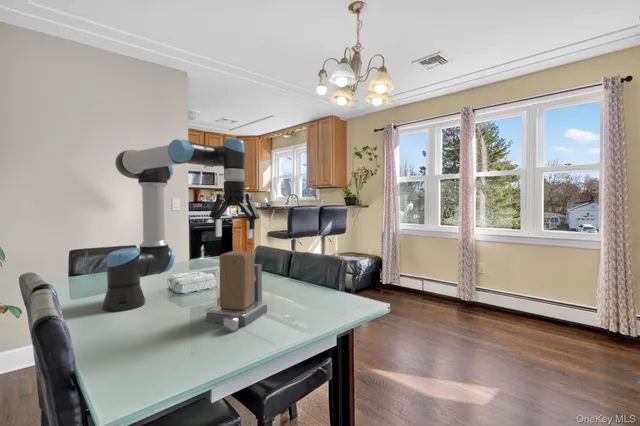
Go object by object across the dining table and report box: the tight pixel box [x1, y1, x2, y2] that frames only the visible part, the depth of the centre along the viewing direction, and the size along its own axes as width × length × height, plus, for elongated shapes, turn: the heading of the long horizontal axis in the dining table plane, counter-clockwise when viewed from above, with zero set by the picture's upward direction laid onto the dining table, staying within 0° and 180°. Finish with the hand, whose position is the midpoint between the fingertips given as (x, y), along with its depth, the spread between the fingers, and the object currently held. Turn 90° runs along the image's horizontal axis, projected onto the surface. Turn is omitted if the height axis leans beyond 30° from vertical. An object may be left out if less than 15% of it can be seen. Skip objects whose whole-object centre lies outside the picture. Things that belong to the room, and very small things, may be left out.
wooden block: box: [219, 250, 255, 310], centre depth 123 cm, size 10×10×20 cm
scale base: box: [206, 263, 268, 328], centre depth 125 cm, size 16×19×18 cm
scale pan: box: [208, 301, 266, 317], centre depth 124 cm, size 15×15×4 cm
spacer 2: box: [222, 316, 240, 334], centre depth 111 cm, size 5×5×4 cm
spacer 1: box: [216, 296, 220, 306], centre depth 135 cm, size 5×5×4 cm
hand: (233, 237), depth 124 cm, fingers open, 13 cm apart
